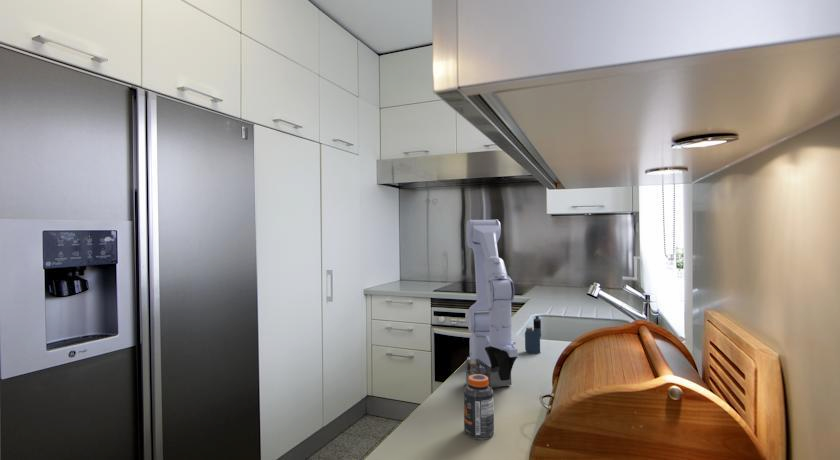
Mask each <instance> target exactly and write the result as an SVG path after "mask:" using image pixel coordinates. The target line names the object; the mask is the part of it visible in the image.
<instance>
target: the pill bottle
mask: <svg viewBox="0 0 840 460" xmlns="http://www.w3.org/2000/svg"><path fill="white" fill-rule="evenodd" d="M468 384H469V385H468V386H465V387H464V389H463V431H464V433H465V435H466V436H467V437H469V438H471V439H475V440H487V439H490V438H492V437H493V436H494V434H495V415H494V413H495V412H494V411H495V409H494V408H495V407H494V406H495V405H494V390H493V388H491V387H489V386H488V384H489V382H488V377H487V376H485V375H481V374H474V375H470V376H469V377H468Z"/></svg>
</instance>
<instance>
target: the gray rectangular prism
mask: <svg viewBox="0 0 840 460" xmlns="http://www.w3.org/2000/svg"><path fill="white" fill-rule="evenodd" d="M474 374H476V369H474V368H473V369H471V370H467V369H466V370H465V381H466V382H465V385H466V386H465V387H467V386H468V385H469V384H468V377H469V376H470V375H474ZM481 375H485V376H486V369H485V368H484V367H481ZM512 383H513V382H512V373H511V374H510V378H509V380H505V381H502V380H501V378H500V372H499V366H493V367H490V387H491V388H492V389H493V388H494V389H495V388H501V387H507V386H512Z"/></svg>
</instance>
